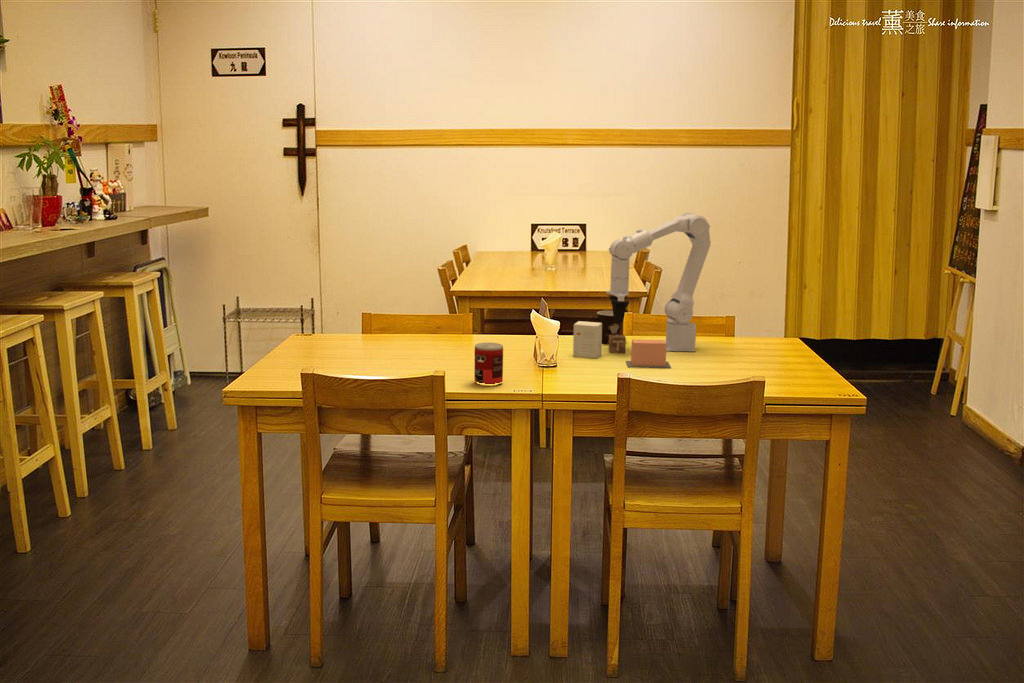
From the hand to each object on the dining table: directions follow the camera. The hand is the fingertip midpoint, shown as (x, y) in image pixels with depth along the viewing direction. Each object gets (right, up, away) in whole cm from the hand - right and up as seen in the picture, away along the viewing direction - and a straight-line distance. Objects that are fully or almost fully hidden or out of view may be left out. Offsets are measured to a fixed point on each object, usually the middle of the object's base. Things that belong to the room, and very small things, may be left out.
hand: (618, 319), depth 333 cm
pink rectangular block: (+8, -14, -15) cm, 22 cm away
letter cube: (0, -10, +2) cm, 10 cm away
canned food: (-41, -19, -39) cm, 60 cm away
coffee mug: (-3, -7, +15) cm, 17 cm away
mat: (+8, -14, -15) cm, 22 cm away
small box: (-10, -12, -4) cm, 16 cm away
